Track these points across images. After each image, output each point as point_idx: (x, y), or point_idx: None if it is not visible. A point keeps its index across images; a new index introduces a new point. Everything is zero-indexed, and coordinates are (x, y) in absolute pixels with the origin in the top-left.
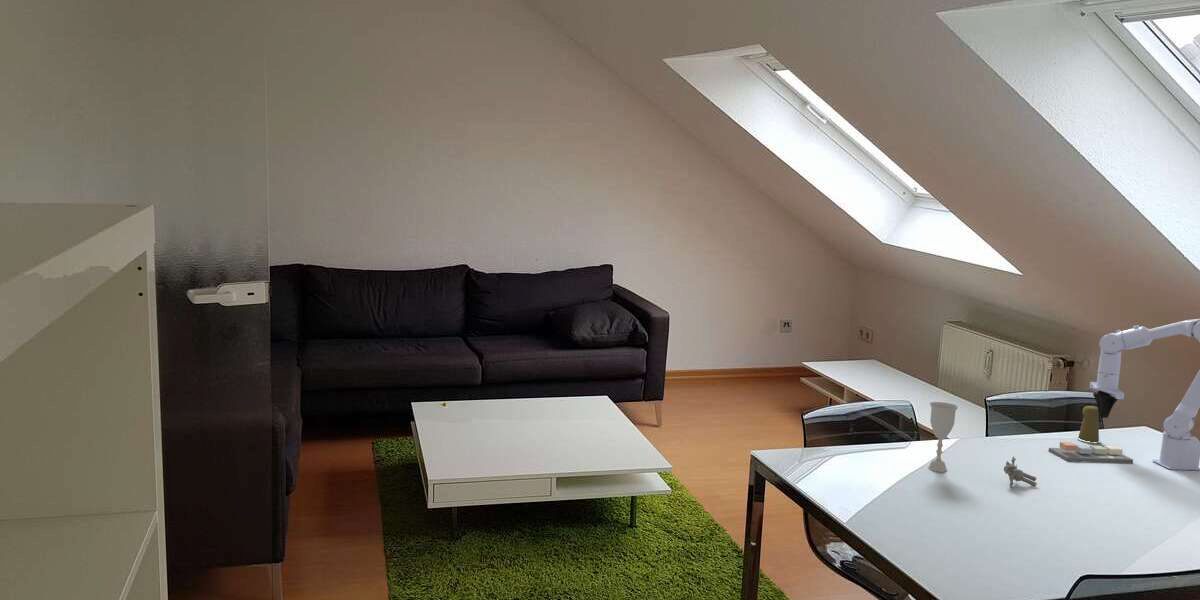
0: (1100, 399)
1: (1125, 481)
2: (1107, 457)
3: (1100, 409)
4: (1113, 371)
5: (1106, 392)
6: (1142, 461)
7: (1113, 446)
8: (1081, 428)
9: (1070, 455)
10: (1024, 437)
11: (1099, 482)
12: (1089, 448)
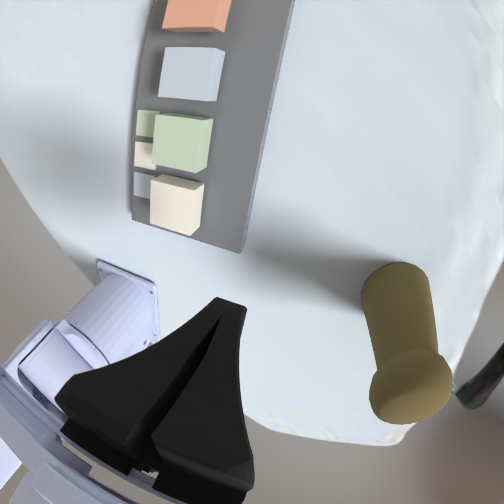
0: (121, 386)
1: (33, 79)
2: (145, 142)
3: (193, 331)
4: None
5: (116, 473)
6: (155, 259)
7: (185, 223)
8: (423, 301)
9: None
10: (497, 69)
11: (38, 18)
12: (160, 85)
